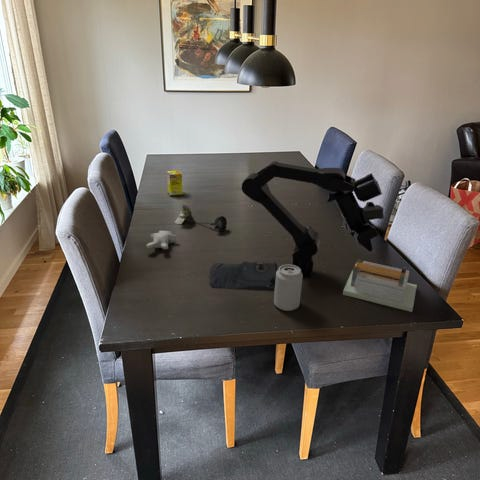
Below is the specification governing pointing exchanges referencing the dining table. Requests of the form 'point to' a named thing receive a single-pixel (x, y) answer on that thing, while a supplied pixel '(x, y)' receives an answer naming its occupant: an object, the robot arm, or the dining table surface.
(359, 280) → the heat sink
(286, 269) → the can
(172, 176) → the supplement box
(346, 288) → the board
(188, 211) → the artificial flower
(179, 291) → the dining table surface
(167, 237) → the bunny figurine
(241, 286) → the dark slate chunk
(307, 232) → the robot arm
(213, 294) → the dining table surface
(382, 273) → the strap
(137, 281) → the dining table surface
